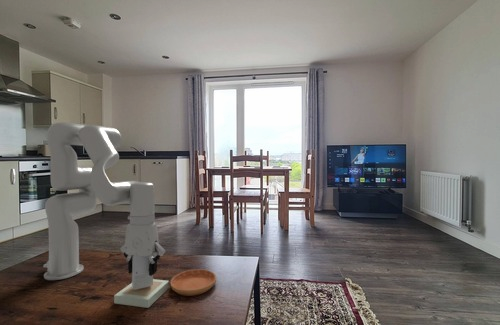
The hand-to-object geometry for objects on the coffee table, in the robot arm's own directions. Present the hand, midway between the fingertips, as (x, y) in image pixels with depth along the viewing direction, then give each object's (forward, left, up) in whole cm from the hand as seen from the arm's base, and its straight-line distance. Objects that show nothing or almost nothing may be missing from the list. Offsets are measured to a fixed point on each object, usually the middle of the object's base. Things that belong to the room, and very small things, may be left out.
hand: (142, 272), depth 82 cm
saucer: (+14, +9, -8) cm, 19 cm away
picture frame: (0, 0, -8) cm, 8 cm away
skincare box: (0, 0, -4) cm, 4 cm away
